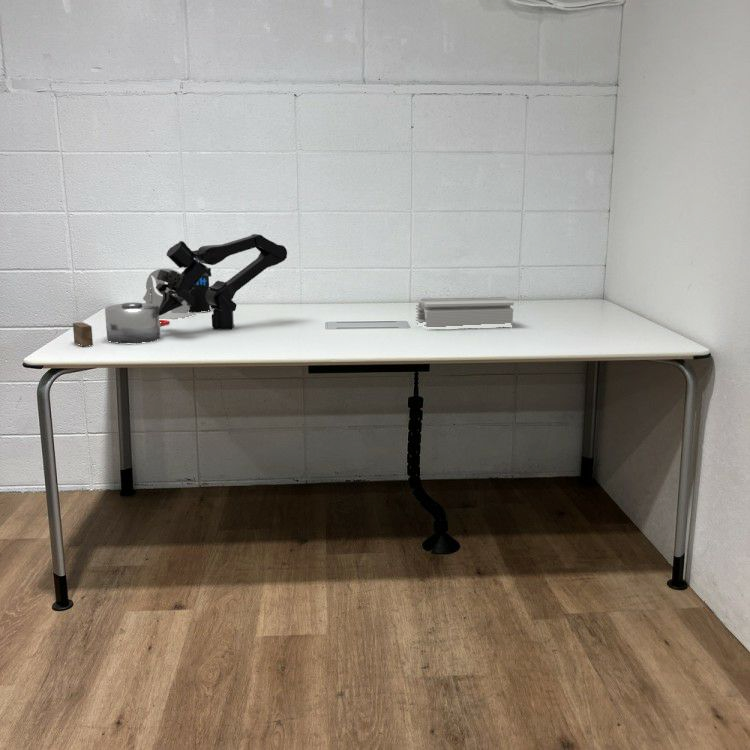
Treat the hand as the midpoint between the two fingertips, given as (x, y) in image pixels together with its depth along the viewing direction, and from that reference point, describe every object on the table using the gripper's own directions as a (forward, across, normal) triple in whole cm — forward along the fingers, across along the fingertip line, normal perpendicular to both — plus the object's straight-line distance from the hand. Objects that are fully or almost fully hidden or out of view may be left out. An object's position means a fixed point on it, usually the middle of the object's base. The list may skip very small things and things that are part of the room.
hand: (158, 314), depth 253 cm
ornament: (-5, -33, +15) cm, 37 cm away
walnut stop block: (+22, 0, -12) cm, 25 cm away
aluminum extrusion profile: (-62, +42, +71) cm, 103 cm away
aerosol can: (-17, -37, +27) cm, 49 cm away
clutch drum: (+11, 0, -1) cm, 11 cm away
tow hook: (0, -20, +10) cm, 22 cm away
